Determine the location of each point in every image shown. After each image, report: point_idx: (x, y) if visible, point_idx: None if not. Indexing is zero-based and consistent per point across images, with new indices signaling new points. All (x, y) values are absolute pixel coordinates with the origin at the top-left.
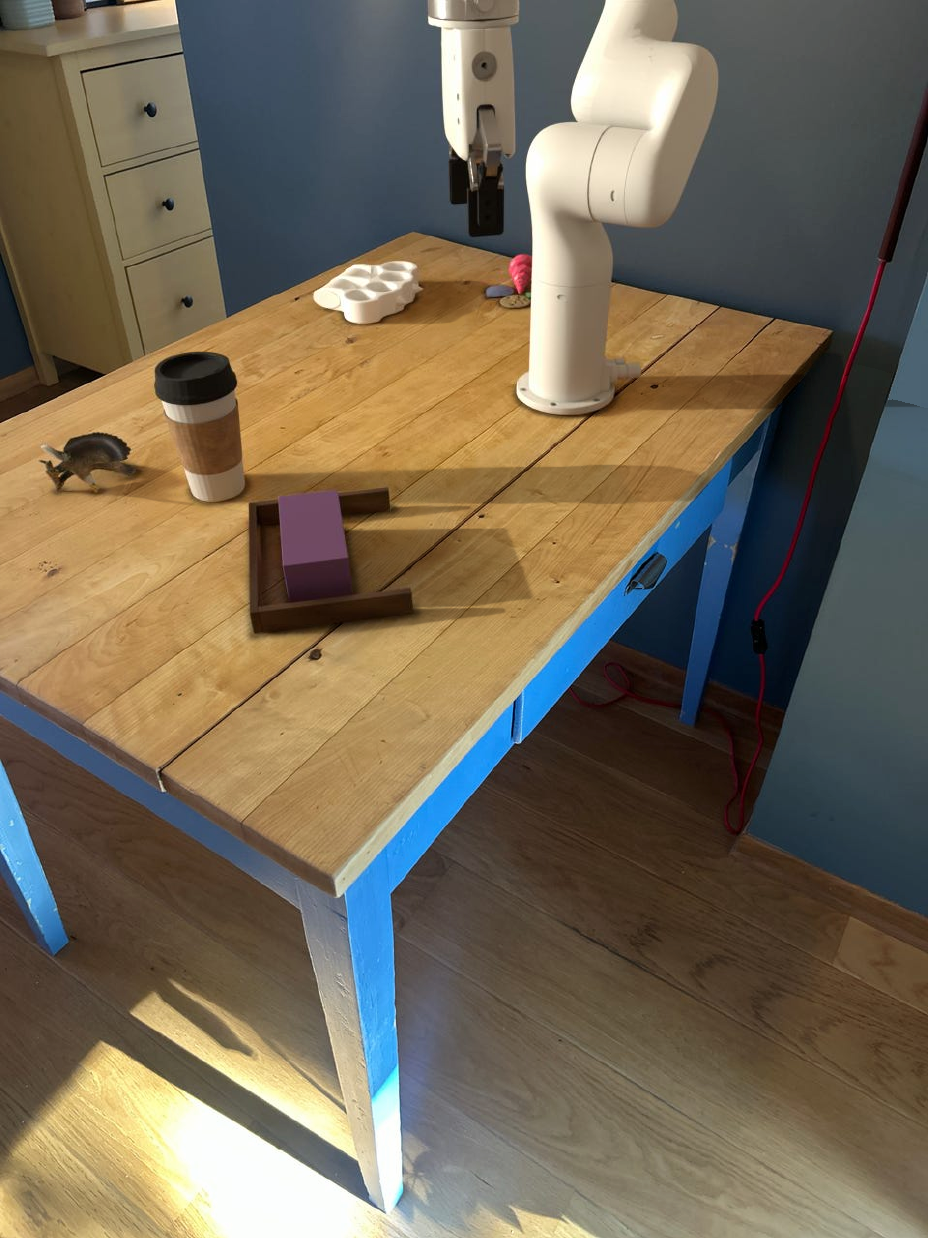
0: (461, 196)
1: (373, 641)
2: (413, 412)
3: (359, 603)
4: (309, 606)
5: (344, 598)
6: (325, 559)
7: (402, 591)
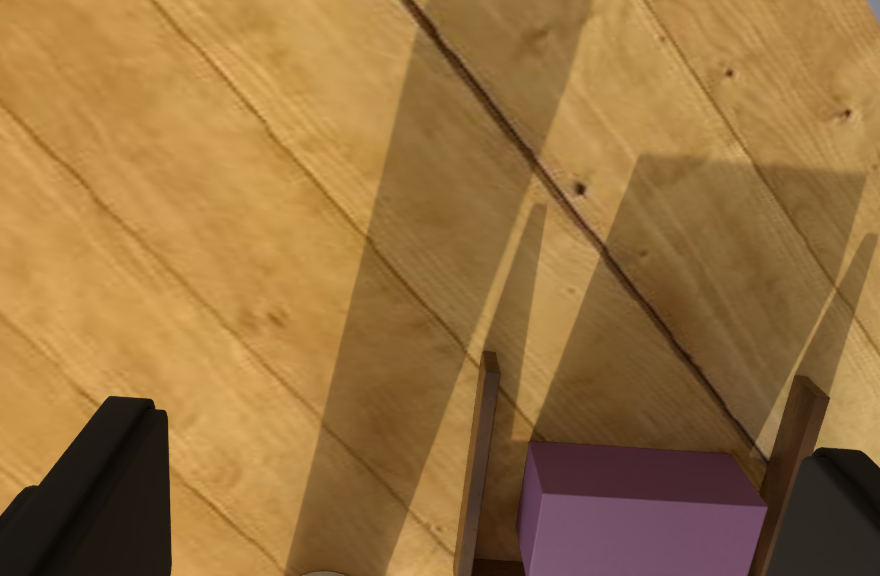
0: (158, 554)
1: (840, 442)
2: (86, 219)
3: None
4: None
5: None
6: (755, 538)
7: (821, 411)
